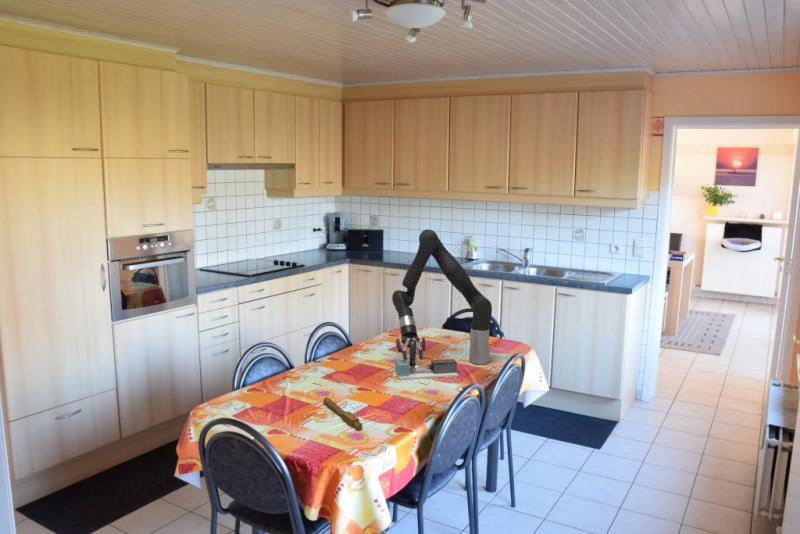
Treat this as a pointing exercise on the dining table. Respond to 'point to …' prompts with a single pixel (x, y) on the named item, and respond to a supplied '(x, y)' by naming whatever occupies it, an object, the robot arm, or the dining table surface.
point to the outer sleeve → (444, 366)
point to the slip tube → (412, 364)
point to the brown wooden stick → (344, 414)
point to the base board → (425, 375)
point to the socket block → (401, 368)
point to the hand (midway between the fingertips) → (413, 358)
